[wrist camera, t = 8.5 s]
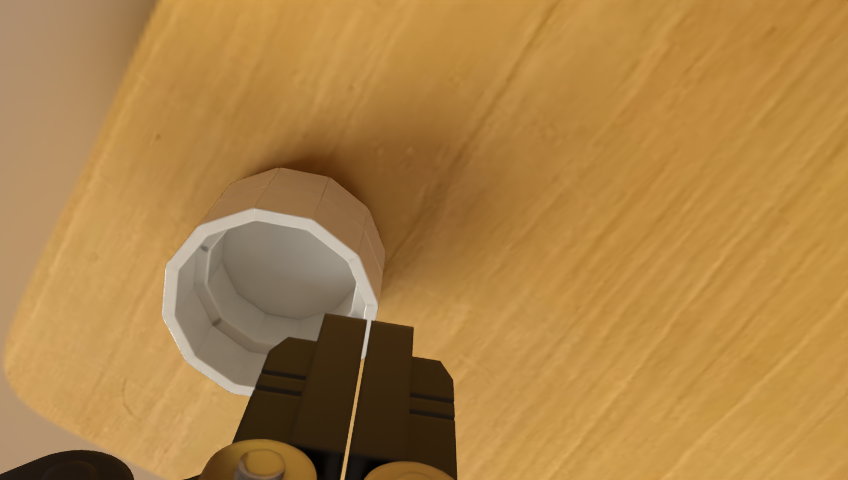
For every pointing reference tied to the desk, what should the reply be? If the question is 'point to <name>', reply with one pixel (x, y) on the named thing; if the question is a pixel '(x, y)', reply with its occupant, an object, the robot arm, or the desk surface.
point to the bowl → (270, 272)
